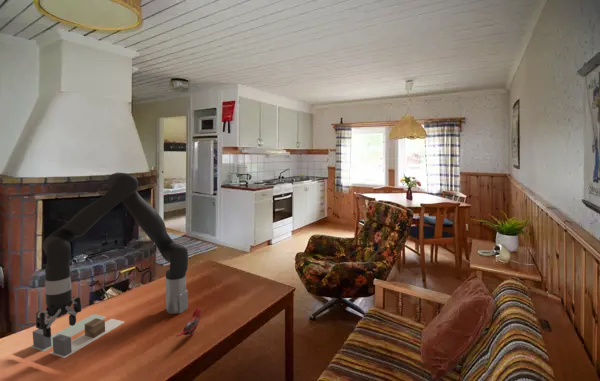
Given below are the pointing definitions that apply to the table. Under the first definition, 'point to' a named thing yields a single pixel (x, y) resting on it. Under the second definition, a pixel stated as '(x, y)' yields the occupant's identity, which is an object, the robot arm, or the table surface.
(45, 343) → the sage strip
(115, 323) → the cream strip
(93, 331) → the walnut block
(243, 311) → the table surface
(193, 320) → the decorative bird figurine
